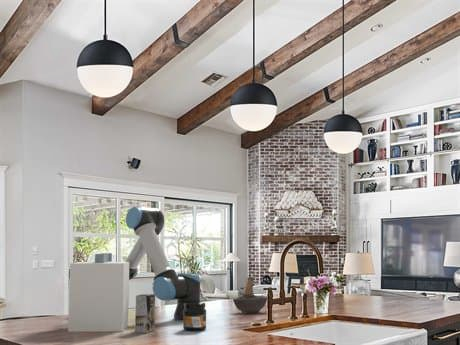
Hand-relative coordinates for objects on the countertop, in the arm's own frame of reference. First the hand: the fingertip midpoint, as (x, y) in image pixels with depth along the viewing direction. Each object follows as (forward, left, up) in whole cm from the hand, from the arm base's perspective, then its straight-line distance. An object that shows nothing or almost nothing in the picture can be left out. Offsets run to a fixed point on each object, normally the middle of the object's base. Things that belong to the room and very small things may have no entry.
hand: (113, 266), depth 315 cm
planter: (-72, -37, -27) cm, 85 cm away
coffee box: (-20, +35, -27) cm, 49 cm away
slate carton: (+2, +17, +3) cm, 17 cm away
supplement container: (-42, +31, -27) cm, 59 cm away
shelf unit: (+2, +25, -27) cm, 37 cm away
